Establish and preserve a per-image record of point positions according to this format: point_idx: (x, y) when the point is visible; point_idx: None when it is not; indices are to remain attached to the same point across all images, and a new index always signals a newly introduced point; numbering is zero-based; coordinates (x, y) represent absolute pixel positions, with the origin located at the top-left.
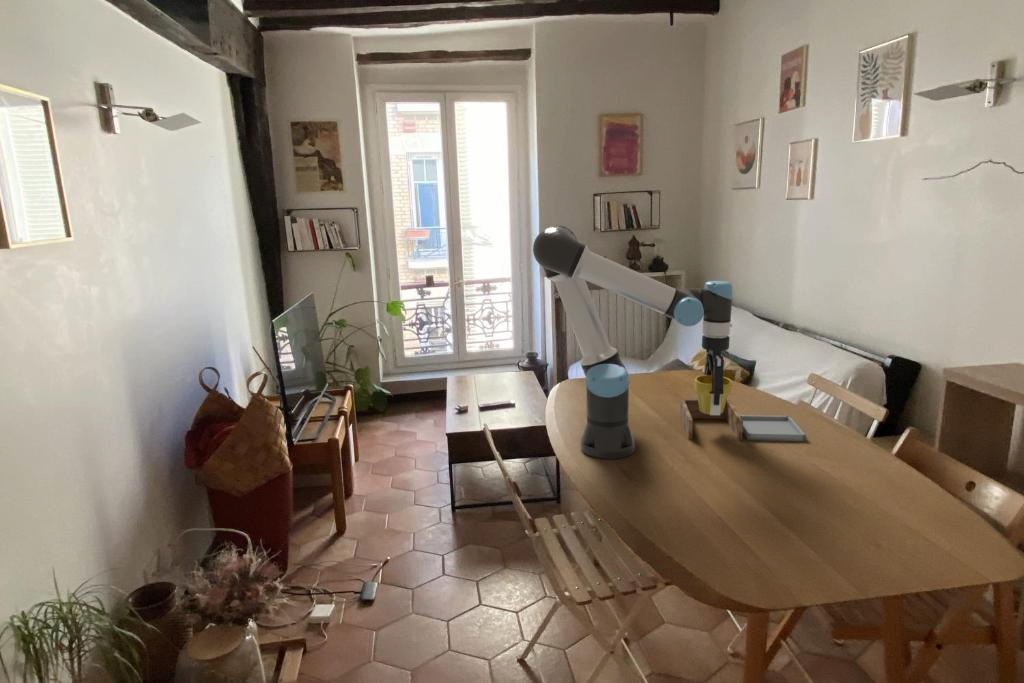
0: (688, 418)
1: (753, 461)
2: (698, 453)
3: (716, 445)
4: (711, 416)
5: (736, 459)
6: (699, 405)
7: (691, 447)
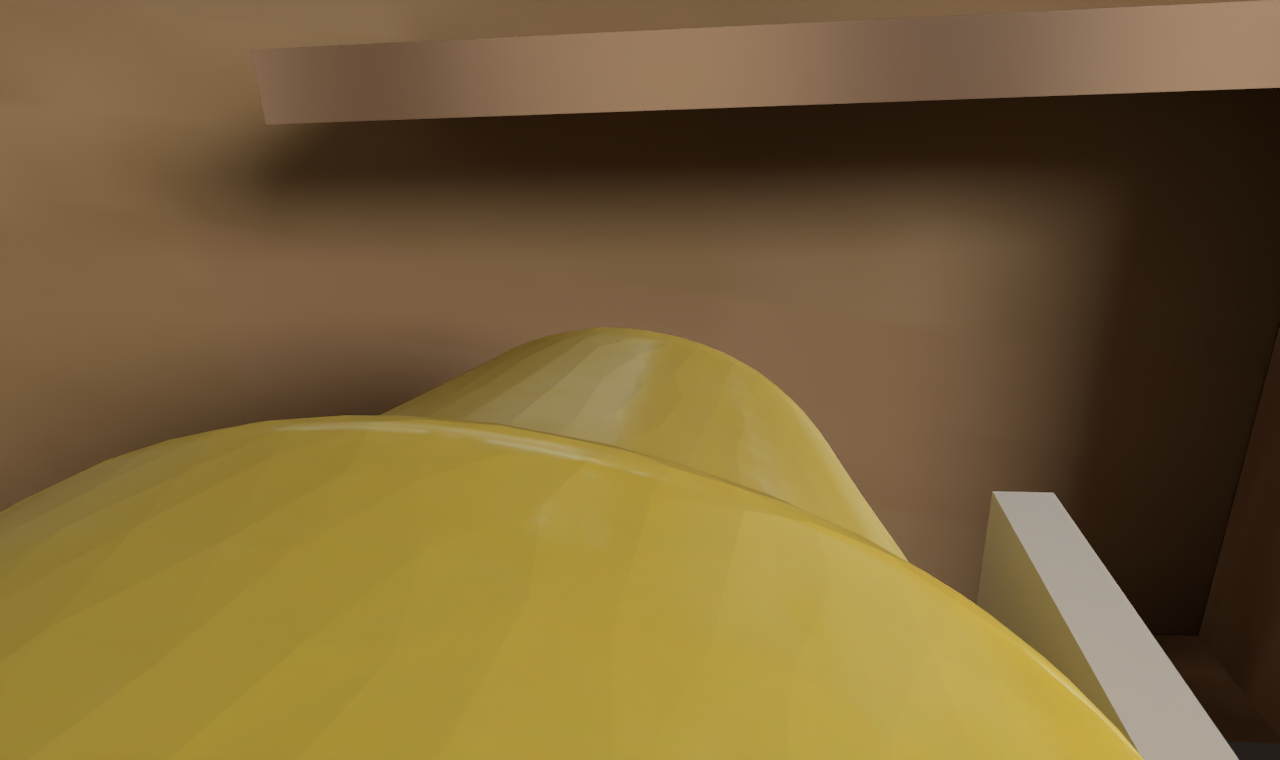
0: (343, 45)
1: None
2: (4, 133)
3: (298, 372)
4: (1258, 487)
5: (2, 489)
6: (522, 356)
7: (155, 65)
